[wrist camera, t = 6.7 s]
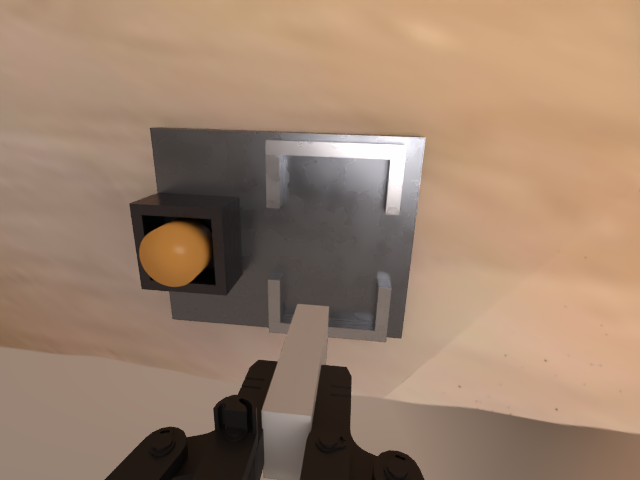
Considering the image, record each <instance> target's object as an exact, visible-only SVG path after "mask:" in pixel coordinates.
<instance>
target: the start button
mask: <svg viewBox="0 0 640 480" xmlns="http://www.w3.org/2000/svg"><path fill="white" fill-rule="evenodd" d="M139 257H140V261H141V264H142V266H143V268H144V270H145V271H146V272H147V274H148V275H149V276H150V277H151V278H153V279H154V280H155V281H157V282H158V283H160V284H163V285H166V286H170V287H180V286H184V285H186V284H188V283H190V282H191V281H192V280H193V279H194V278H195V277H196V276H198V275H199V274H200V273H201V272H202V271H203V270H204V269H205V268H206V267H207V266H208V265H209V264H210V263H211V262H212V260H213V258H214V253H213V239H212V233H211V231H210V230H209V229H208V228H207V226H205V225H204V224H203V223H202V222H200V221H198V220H196V219H194V218H184V217H180V218H176V219H174V220H172V221H170V222H168V223H166V224H164V225H162V226H160V227H159V228H157V229H155V230H153V231H151V232H150V233H148V234H147V235H146V236H145V237H144V238H143V240H142V242H141V244H140V248H139Z"/></svg>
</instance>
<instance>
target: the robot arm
mask: <svg viewBox="0 0 640 480" xmlns="http://www.w3.org/2000/svg"><path fill="white" fill-rule="evenodd" d="M328 317H329V306H319V305H306V304H297V306H296V309H295V312H294V315H293V318H292V321H291V324H290V327H289V330H288V333H287V336H286V339H285V342H284V345H283V348H282V351H281V354H280V357H279V360H278V362H277V361H266V360H258V361H257V362H256V363H254V364H253V365H252V366H251V367H250V368H249V371H248V373H247V375H246V377H245V380H244V382H243V384H242V388H241V389H240V391H239V393H238V395H232V396H229V397H226V398H224V399H222V400H221V401H219V402H218V403H217V404H216V406H215V407H214V421H215V430H214V431H212V432H210V433H207V434H203V435H198V436H192V437H186V435H185V433H184V431H182V430H181V429H179V428H176V427H166V428H161V429H159V430H157V431H155V432H152V433H151V434H150V435H149V436H147V437H146V438H145V439H144V440H143V441H142V442H141V443H140V444H139V445H138V446H137V447H136V448H135V449H134V450H133V451H132V452H131V453H130V454H129V455H128V456H127V457H126V458H125V459H124V460H123V461H122V462H121V463H120V465H119V466H118V467H117V468H116V469H115V470H114V471H113V472H112V473H111V474H110V475H109V476H108V477H107V478H106V479H105V480H260V477H261V474H262V470H263V476H264V478H269V479H277V480H424V478H423V475H422V473H421V471H420V469H419V467H418V466H417V464H416V462H415V461H414V460H413V459H412V458H410V457H409V456H408V455H407V454H404V453H402V452H399V451H390V450H389V451H386V452H383V453H381V454H380V455H379V456H375V455H373V454H370V453H368V452H366V451H364V450H363V449H361V448H360V447H359V446H358V445H357V444H356V443H355V442H354V440H353V438H352V436H351V433H350V413H351V378H352V377H351V375H350V373H349V371H348V369H347V367H340V366H329V365H326V358H327V340H328Z"/></svg>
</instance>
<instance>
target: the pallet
mask: <svg viewBox="0 0 640 480" xmlns="http://www.w3.org/2000/svg"><path fill="white" fill-rule="evenodd" d="M150 132H151V140H152V148H153V157H154V165H155V174H156V182H157V191H158V193H157V194H154V195H152V196H149V197H146V198H143V199H141V200H138V201H135V202H132V203H130V211H131V218H132V225H133V232H134V239H135V246H136V252H137V259H138V266H139V273H140V280H141V287H142V289H147V290H160V291H169V292H170V301H171V309H172V318H173V319H177V320H188V321H200V322H212V323H224V324H236V325H248V326H260V327H269V332H273V333H285V334H287V333H288V330H289V327H290V324H291V321H292V318H293V315H294V312H295V309H296V306H297V304H306V305H319V306H329V317H328V337H332V338H343V339H355V340H367V341H378V342H386V337H390V338H401V337H402V329H403V321H404V313H405V304H406V296H407V288H408V279H409V271H410V263H411V255H412V246H413V238H414V230H415V222H416V213H417V205H418V197H419V188H420V180H421V172H422V164H423V155H424V147H425V139H426V138H425V137H414V136H386V135H357V134H329V133H301V132H272V131H244V130H215V129H187V128H150ZM180 217H184V218H194V219H196V220H198V221H200V222H202V223H203V224H204V225H205V226H207V228H208V229H209V230H210V231H211V233H212V239H213V253H214V258H213V260H212V262H211V263H210V264H209V265H208V266H207V267H206V268H205V269H204V270H203V271H202V272H201V273H200V274H199V275H198V276H196V277H195V278H194V279H193V280H192V281H191V282H190V283H188V284H186V285H184V286H180V287H170V286H166V285H163V284H160V283H158V282H157V281H155V280H154V279H153V278H151V277H150V276H149V275H148V274H147V272H146V271H145V270H144V268H143V266H142V264H141V261H140V257H139V248H140V244H141V242H142V240H143V238H144V237H145V236H146V235H147V234H148V233H150V232H151V231H153V230H155V229H157V228H159V227H160V226H162V225H164V224H166V223H168V222H170V221H172V220H174V219H176V218H180Z"/></svg>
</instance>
